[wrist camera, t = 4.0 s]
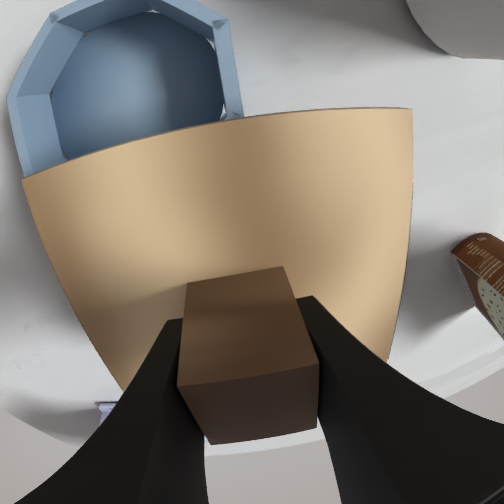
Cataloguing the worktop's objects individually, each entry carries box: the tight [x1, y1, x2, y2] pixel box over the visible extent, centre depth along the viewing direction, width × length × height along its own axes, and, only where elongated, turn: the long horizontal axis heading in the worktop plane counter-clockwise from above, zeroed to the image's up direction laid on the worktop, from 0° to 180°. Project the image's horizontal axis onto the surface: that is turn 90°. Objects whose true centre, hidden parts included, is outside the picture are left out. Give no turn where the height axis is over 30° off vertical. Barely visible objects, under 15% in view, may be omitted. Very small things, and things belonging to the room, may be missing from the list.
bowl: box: [6, 0, 244, 178], centre depth 11 cm, size 10×10×4 cm
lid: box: [21, 107, 413, 445], centre depth 9 cm, size 12×12×5 cm
